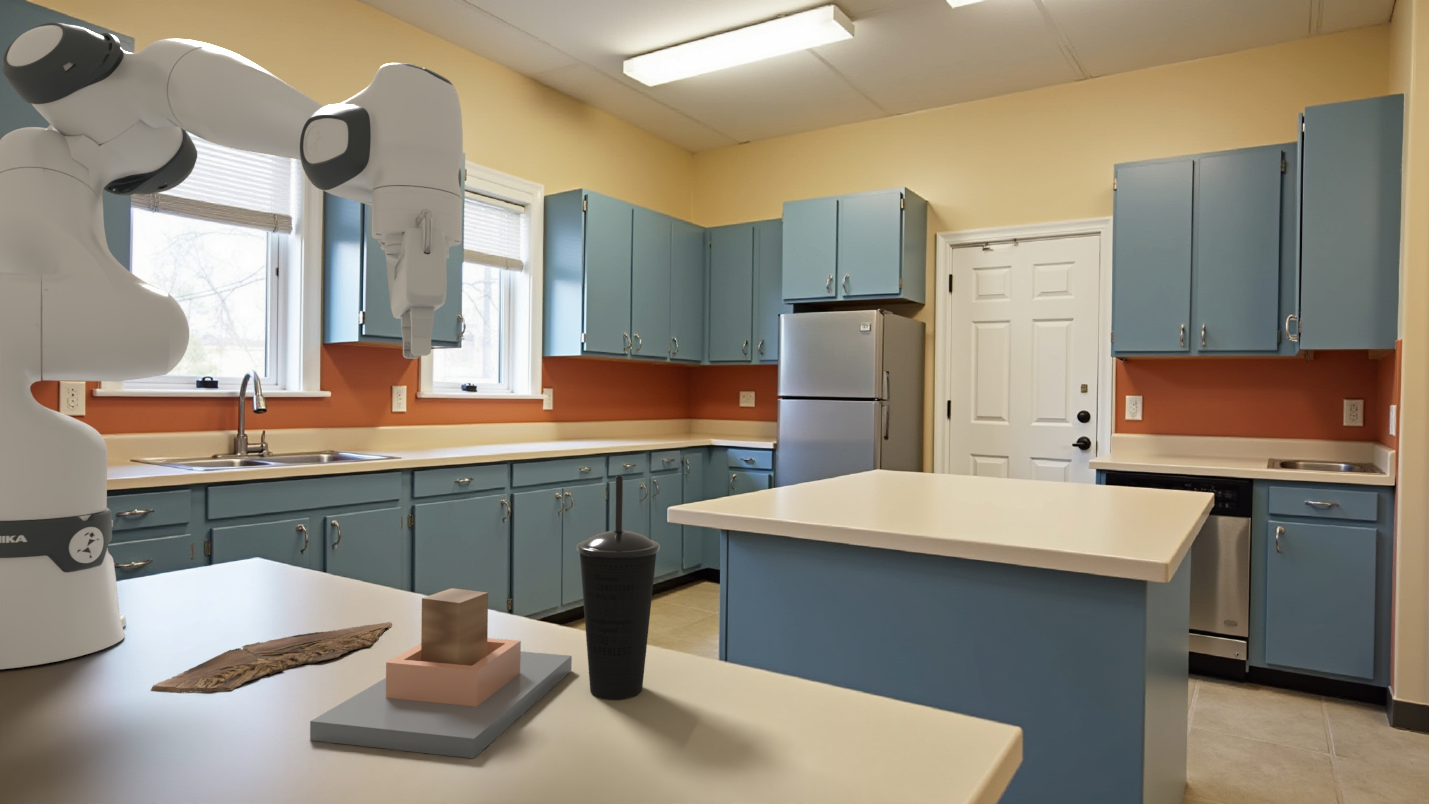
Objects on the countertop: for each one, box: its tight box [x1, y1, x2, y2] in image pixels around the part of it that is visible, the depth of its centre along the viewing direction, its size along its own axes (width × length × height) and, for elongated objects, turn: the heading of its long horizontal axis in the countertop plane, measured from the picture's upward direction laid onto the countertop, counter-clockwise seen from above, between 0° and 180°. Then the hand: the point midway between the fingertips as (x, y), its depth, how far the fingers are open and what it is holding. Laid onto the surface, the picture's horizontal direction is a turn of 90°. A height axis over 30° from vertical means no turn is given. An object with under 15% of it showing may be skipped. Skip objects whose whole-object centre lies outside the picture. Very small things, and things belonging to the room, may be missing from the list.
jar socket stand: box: [309, 637, 573, 759], centre depth 73 cm, size 14×20×4 cm
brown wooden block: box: [420, 587, 489, 666], centre depth 73 cm, size 4×4×8 cm
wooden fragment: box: [150, 621, 393, 694], centre depth 85 cm, size 26×11×1 cm, turn 148°
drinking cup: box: [576, 475, 661, 700], centre depth 76 cm, size 8×8×20 cm
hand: (416, 357), depth 85 cm, fingers open, 8 cm apart
